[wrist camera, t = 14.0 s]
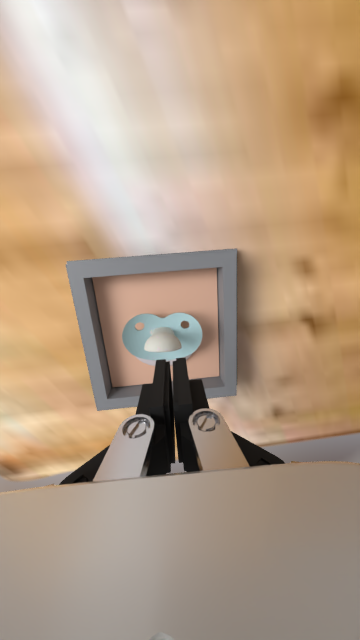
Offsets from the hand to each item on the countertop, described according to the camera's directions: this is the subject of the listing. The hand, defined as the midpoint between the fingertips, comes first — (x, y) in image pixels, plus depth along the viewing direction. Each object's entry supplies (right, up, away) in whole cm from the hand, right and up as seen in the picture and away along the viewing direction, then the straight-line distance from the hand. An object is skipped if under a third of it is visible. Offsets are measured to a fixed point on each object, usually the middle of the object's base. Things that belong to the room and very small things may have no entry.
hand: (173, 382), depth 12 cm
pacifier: (-1, +2, +10) cm, 10 cm away
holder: (-2, +3, +11) cm, 11 cm away
